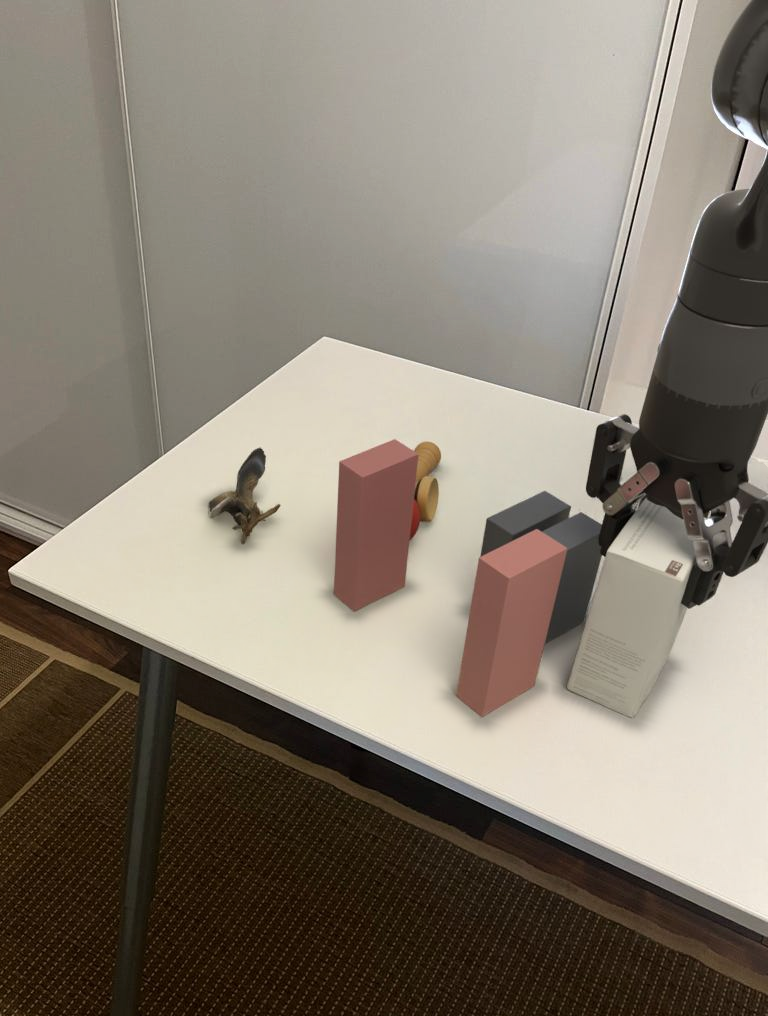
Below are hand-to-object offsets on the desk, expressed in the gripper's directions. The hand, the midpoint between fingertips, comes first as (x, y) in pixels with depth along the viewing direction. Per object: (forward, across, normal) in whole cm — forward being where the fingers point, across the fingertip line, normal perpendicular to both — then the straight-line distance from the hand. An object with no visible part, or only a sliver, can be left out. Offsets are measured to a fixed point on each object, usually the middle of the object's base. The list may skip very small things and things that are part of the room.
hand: (650, 576), depth 73 cm
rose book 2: (+11, +5, +9) cm, 15 cm away
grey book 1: (+11, +12, 0) cm, 16 cm away
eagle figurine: (+11, +37, +12) cm, 41 cm away
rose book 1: (+11, +21, +9) cm, 25 cm away
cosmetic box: (+11, 0, 0) cm, 11 cm away
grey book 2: (+11, +8, 0) cm, 14 cm away
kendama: (+11, +29, -2) cm, 31 cm away
